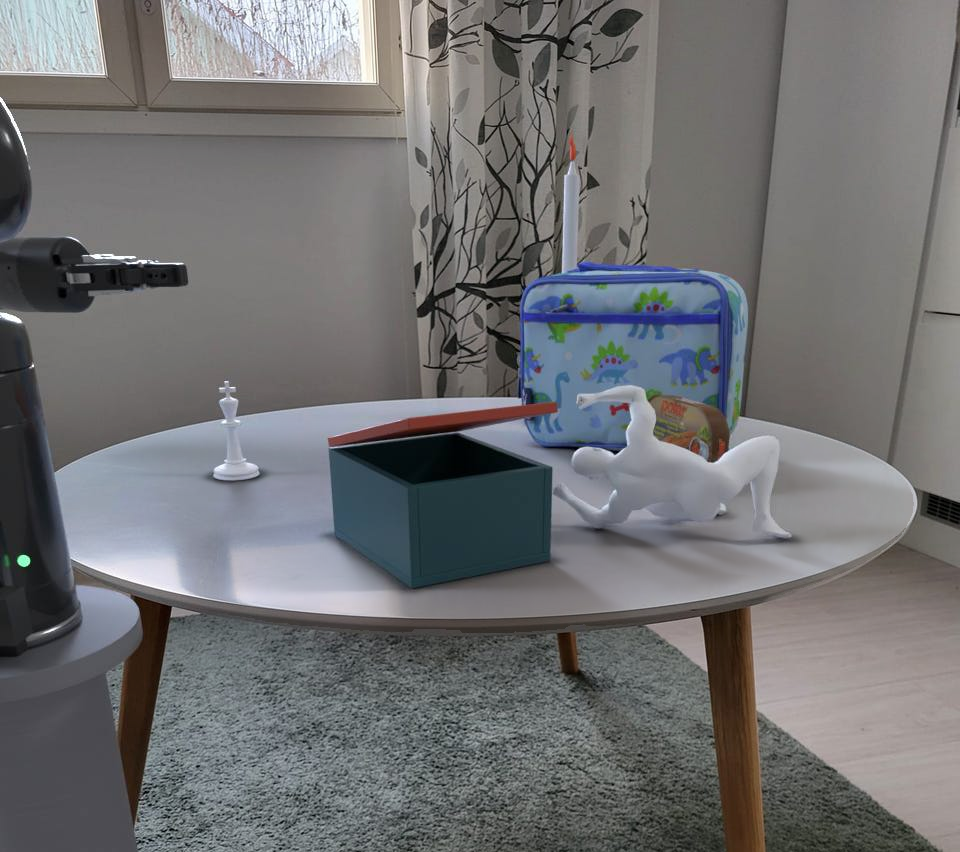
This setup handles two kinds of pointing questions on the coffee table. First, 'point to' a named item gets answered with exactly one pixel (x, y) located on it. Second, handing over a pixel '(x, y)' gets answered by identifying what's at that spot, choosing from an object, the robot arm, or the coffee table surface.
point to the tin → (691, 426)
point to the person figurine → (671, 472)
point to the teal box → (441, 507)
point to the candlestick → (570, 214)
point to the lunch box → (628, 346)
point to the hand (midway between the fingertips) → (183, 275)
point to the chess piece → (233, 443)
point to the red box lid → (442, 423)
